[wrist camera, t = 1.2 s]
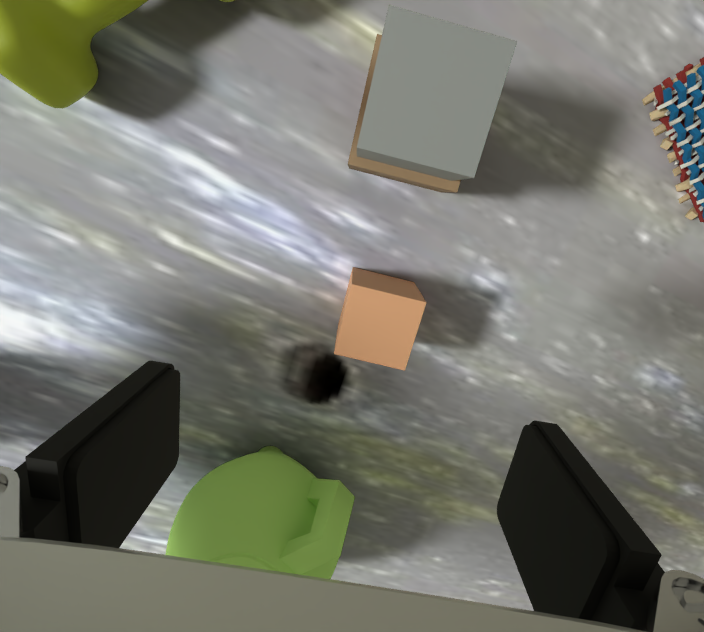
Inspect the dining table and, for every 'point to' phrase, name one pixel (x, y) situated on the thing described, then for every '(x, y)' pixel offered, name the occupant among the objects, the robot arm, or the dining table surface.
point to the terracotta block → (379, 319)
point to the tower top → (433, 95)
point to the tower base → (386, 169)
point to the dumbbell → (55, 44)
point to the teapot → (264, 517)
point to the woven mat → (683, 130)
